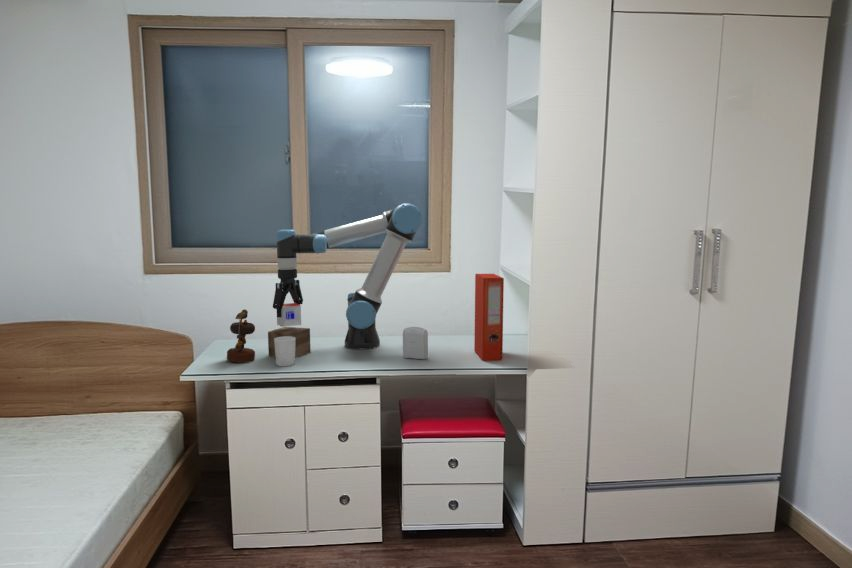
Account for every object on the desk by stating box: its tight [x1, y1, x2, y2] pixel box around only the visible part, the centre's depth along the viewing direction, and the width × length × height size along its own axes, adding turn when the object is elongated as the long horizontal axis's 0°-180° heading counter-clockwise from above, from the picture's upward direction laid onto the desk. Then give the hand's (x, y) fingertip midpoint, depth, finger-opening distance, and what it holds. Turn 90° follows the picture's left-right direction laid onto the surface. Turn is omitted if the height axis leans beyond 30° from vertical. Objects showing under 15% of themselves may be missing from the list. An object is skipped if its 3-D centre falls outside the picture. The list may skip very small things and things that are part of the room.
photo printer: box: [402, 326, 429, 360], centre depth 250 cm, size 10×4×12 cm, turn 65°
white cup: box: [274, 336, 296, 367], centre depth 242 cm, size 8×8×10 cm
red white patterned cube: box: [279, 302, 302, 328], centre depth 257 cm, size 8×8×8 cm
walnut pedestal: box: [267, 326, 311, 359], centre depth 258 cm, size 12×12×10 cm
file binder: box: [473, 273, 505, 362], centre depth 252 cm, size 8×17×32 cm, turn 6°
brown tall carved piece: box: [226, 308, 256, 363], centre depth 249 cm, size 15×11×20 cm
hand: (289, 322), depth 257 cm, fingers closed on red white patterned cube, 11 cm apart
